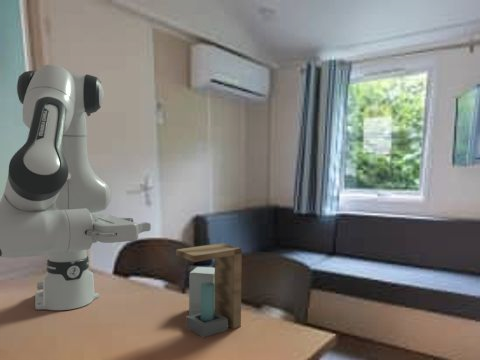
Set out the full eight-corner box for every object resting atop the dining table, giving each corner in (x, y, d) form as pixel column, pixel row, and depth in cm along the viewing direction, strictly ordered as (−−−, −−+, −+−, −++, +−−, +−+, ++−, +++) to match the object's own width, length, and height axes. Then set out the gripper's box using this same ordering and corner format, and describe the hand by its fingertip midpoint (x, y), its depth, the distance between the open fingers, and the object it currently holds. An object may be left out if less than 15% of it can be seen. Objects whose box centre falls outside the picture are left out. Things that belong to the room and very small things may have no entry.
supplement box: (212, 317, 111) (213, 274, 110) (188, 315, 112) (188, 272, 112) (219, 308, 118) (219, 267, 117) (196, 306, 119) (196, 265, 119)
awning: (175, 329, 102) (176, 249, 101) (221, 316, 112) (222, 242, 111) (193, 341, 95) (194, 256, 94) (240, 326, 105) (241, 248, 104)
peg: (197, 327, 103) (198, 284, 103) (208, 324, 106) (209, 281, 105) (205, 332, 101) (205, 287, 100) (216, 329, 103) (216, 284, 102)
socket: (186, 327, 104) (186, 316, 104) (211, 320, 109) (211, 309, 109) (202, 337, 97) (202, 326, 97) (228, 329, 103) (228, 318, 102)
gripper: (95, 220, 73) (161, 215, 82) (65, 210, 89) (123, 206, 98) (95, 253, 73) (161, 244, 82) (66, 237, 89) (123, 231, 98)
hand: (140, 223), depth 90 cm, fingers open, 8 cm apart
